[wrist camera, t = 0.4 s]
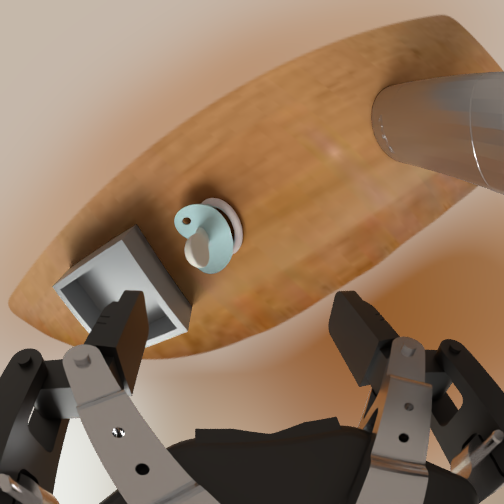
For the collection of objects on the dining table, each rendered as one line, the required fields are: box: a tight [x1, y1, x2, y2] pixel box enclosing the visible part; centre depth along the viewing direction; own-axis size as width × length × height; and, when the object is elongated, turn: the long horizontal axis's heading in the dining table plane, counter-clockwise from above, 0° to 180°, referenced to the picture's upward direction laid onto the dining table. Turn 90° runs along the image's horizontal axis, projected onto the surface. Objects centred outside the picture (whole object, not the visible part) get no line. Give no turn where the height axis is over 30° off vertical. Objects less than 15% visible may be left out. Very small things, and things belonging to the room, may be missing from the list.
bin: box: [52, 224, 192, 348], centre depth 28 cm, size 12×12×4 cm
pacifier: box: [174, 198, 243, 274], centre depth 25 cm, size 7×6×6 cm
